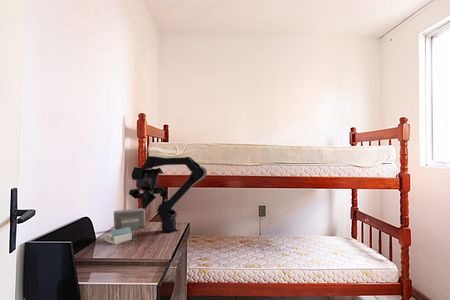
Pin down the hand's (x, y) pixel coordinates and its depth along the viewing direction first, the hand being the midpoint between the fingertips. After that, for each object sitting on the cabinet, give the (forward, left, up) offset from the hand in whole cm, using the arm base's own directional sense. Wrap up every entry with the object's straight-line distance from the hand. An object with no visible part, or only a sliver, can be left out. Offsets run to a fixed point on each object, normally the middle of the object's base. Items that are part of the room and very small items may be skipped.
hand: (143, 208), depth 146 cm
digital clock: (-7, -21, -13) cm, 26 cm away
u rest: (+11, -5, -13) cm, 18 cm away
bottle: (+6, -4, -10) cm, 13 cm away
